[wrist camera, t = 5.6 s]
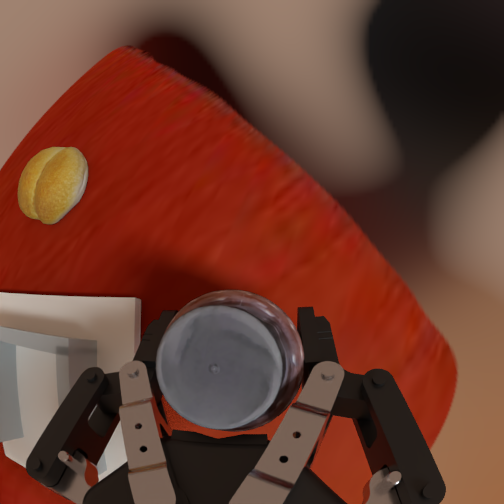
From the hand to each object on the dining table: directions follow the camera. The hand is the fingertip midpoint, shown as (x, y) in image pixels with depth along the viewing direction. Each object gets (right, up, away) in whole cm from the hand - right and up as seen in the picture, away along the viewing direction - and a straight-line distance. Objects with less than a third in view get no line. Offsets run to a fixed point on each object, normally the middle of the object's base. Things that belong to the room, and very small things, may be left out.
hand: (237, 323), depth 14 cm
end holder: (-16, -9, +4) cm, 19 cm away
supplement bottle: (0, -3, +5) cm, 6 cm away
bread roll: (-19, +10, +11) cm, 24 cm away
